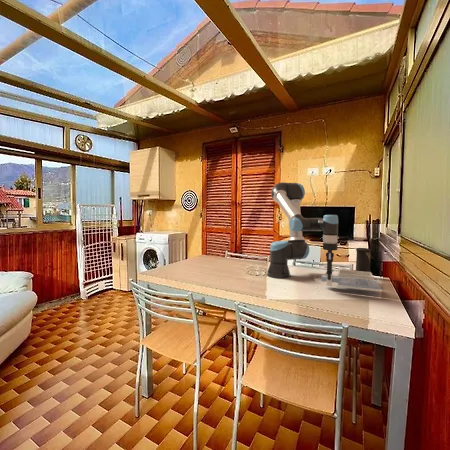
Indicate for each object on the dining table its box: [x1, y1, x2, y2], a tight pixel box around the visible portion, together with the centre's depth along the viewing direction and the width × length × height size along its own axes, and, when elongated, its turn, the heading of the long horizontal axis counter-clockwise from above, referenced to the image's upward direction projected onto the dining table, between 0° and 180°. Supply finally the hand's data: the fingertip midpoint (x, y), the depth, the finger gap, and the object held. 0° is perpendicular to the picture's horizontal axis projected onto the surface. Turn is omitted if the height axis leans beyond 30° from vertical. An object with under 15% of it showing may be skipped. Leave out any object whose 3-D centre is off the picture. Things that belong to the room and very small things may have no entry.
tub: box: [337, 268, 375, 280], centre depth 149 cm, size 18×12×7 cm, turn 66°
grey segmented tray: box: [321, 274, 382, 290], centre depth 134 cm, size 28×13×2 cm, turn 66°
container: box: [355, 247, 372, 272], centre depth 164 cm, size 9×9×20 cm
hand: (329, 284), depth 138 cm, fingers closed on grey segmented tray, 4 cm apart
